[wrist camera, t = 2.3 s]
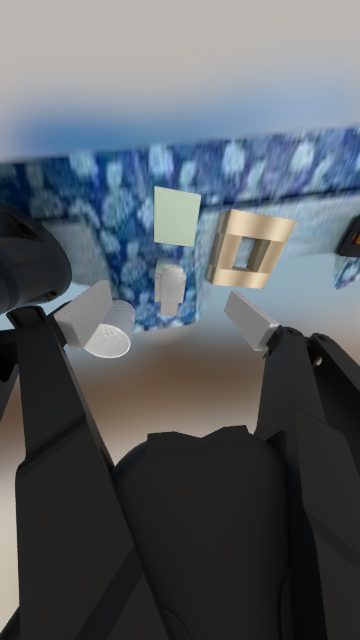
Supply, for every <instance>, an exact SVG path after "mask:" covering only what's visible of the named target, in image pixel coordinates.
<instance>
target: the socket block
mask: <svg viewBox="0 0 360 640" xmlns="http://www.w3.org/2000/svg"><path fill="white" fill-rule="evenodd" d="M296 222H297V221H293V220H288V219H282V218H277V217H271V216H266V215H260V214H255V213H249V212H244V211H239V210H233V209H231V210H228V211H225V212H221V216H220V221H219V225H218V230H217V234H216V238H215V243H214V247H213V251H212V256H211V260H210V265H209V269H208V273H207V279H208V281H209V282H210V283H211V284H212V285H224V286H236V287H248V288H260V289H264V287H265V285H266V283H267V281H268V279H269V277H270V275H271V273H272V271H273V269H274V267H275V265H276V263H277V261H278V259H279V257H280V255H281V253H282V251H283V249H284V247H285V244H286V242H287V240H288V238H289V236H290V234H291V232H292V230H293V228H294V226H295V224H296ZM242 237H246V238H253V239H257V240H256V243H255V245H254V248H253V251H252V253H251V256H250V259H249V261H248V264H247V266H246V268H243V267H234V266H233V264H234V261H235V258H236V255H237V252H238V249H239V246H240V242H241V239H242Z"/></svg>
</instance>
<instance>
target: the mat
mask: <svg viewBox="0 0 360 640" xmlns="http://www.w3.org/2000/svg"><path fill="white" fill-rule="evenodd" d="M200 200H201V195H198V194H193V193H187V192H182V191H177V190H172V189H167V188H162V187H156V186H155V206H154V242H157V243H165V244H173V245H180V246H188V247H193V246H194V239H195V233H196V226H197V219H198V213H199V206H200Z"/></svg>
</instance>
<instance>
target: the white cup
mask: <svg viewBox="0 0 360 640" xmlns="http://www.w3.org/2000/svg"><path fill="white" fill-rule="evenodd" d="M112 301H113V306H112V308H111V309H110V311H109V312H108V313H107V315H106V316H105V318H104V319H103V321H102V322H101V324H100V325H99V326H98V328H97V329H96V331H95V332H94V334H93V335H92V337H91V338H90V339H89V341H88V342H87V344H86V345H85V347H84V348H85V350H87V351H88V352H90V353H91V354H94V355H96V356H99V357H104V358H115V357H119V356H122V355H124V354H125V353H126V352H127V351H128V350H129V348H130V344H131V339H132V335H133V330H134V325H135V318H136V312H135V309H134V308H133V306H132V305H131V304H129V303H128V302H126V301H123V300H119V299H118V300H112Z"/></svg>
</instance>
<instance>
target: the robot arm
mask: <svg viewBox="0 0 360 640" xmlns="http://www.w3.org/2000/svg"><path fill="white" fill-rule="evenodd" d="M71 276H72V275H71V267H70V264H69V261H68V259H67V256H66V254H65V253H64V251H63V249H62V248H61V246H60V245H59V243H58V242H57V241H56V240H55V238H54V237H53V236H52V235H51V234H50V233H49V232H48V231H47V230H46V229H45V228H44V227H43V226H42V225H40V224H39V223H38V222H37V221H35V220H34V219H33V218H31V217H30V216H28V215H27V214H25V213H23V212H22V211H20V210H18V209H16V208H14V207H12V206H9V205H7V204H4V203H1V202H0V315H1V314H3V313H5V312H7V311H9V310H11V309H13V310H11V311H9V312H7V314H6V316H7V318H8V319H9V320H10V322H11V323H12V324H13V326H14V327H15V329H10V330H2V331H0V421H1V418H2V416H3V413H4V410H5V408H6V405H7V402H8V400H9V397H10V395H11V392H12V389H13V387H14V384H15V381H16V378H17V376H18V373H19V377H20V388H21V401H22V411H23V423H24V434H25V446H26V457H25V460H24V461H23V462H22V463H21V464H20V465H19V466H18V468H17V471H16V478H15V497H16V522H17V548H18V549H17V550H18V576H19V577H18V578H19V607H18V608H17V610H16V611H15V613H14V614H13V616H12V617H11V618H10V620H9V621H8V623H7V624H6V626H5V627H4V629H3V630H2V632H1V633H0V640H360V366H359V365H358V364H357V363H356V362H355V361H354V360H353V359H352V358H351V357H350V356H349V355H348V354H347V353H346V352H345V351H344V350H343V349H342V348H341V347H340V346H339V345H338V344H337V343H336V342H335V341H334V340H332V339H331V338H329V337H328V336H326V335H324V334H319V333H313V334H312V336H311V337H310V338H309V337H304V336H303V334H302V333H301V332H299V331H298V330H296V329H294V328H291V327H282V326H281V325H280V324H279V323H278V322H276V321H275V320H274V319H273V318H271V317H270V316H269V315H268V314H266V313H265V312H264V311H263V310H261V309H260V308H259V307H258V306H256V305H255V304H254V303H252V302H251V301H250V300H249V299H247V298H246V297H245V296H244V295H242V294H241V293H240V292H239V291H235V290H231V293H230V296H229V299H228V301H227V304H226V307H225V310H224V311H225V313H226V314H227V315H228V317H229V318H230V319H231V320H232V322H233V323H234V325H235V326H236V327H237V329H238V330H239V331H240V332H241V334H242V335H243V336H244V338H245V339H246V340H247V342H248V343H249V344H250V345H251V347H252V348H253V349H254V350H256V351H257V350H258V351H261V350H263V349H264V347H265V346H266V345H267V346H268V348H269V349H268V351H267V352H266V353H265V355H264V356H263V359H264V358H265V357H266V361H265V368H264V375H263V383H262V390H261V398H260V405H259V413H258V421H257V427H256V430H255V432H254V434H250V433H249V432H248V429H247V427H246V425H241V426H230V427H223V428H221V429H219V430H217V431H215V432H213V433H211V434H209V435H207V436H205V437H202V438H198V437H195V436H190V435H186V434H182V433H178V432H174V431H173V432H162V433H151V434H148V436H147V441H145V442H143V443H141V444H139V445H138V446H136V447H134V448H133V449H132V450H131V451H129V452H128V453H127V454H126V455H125V456H124V457H123V458H122V459H121V460H120V461H119V462H118V464H117V465H116V466H114V463H113V461H112V459H111V456H110V454H109V452H108V450H107V448H106V446H105V444H104V442H103V439H102V437H101V435H100V433H99V430H98V428H97V425H96V423H95V421H94V418H93V416H92V414H91V411H90V409H89V407H88V404H87V402H86V400H85V397H84V395H83V393H82V390H81V388H80V386H79V383H78V381H77V378H76V376H75V374H74V371H73V369H72V367H71V364H70V362H69V360H68V357H67V355H66V353H65V350H64V349H63V347H64V346H65V345H66V344H68V346H69V348H70V349H81V350H82V349H83V348H84V347H85V345H86V344H87V342H88V341H89V339H90V338H91V337H92V335H93V334H94V332H95V331H96V329H97V328H98V326H99V325H100V324H101V322H102V321H103V319H104V318H105V316H106V315H107V313H108V312H109V311H110V309H111V308H112V306H113V301H112V295H111V290H110V284H109V280H99V281H98V282H97V283H95V284H94V285H93V286H91V287H90V288H89V289H87V290H86V291H85V292H83V293H82V294H81V295H79V296H78V297H77V298H75V299H74V300H73V301H69V302H66V303H64V304H63V305H61V306H60V307H58V308H57V309H56V310H54V311H53V312H51V313H50V314H48V315H47V316H46V314H45V312H44V310H43V308H42V307H41V306H36V304H42V303H46V302H49V301H52V300H54V299H56V298H57V297H59V296H60V295H62V294H63V293H65V292H66V291H67V289H68V288H69V286H70V283H71ZM34 305H35V306H34ZM14 308H16V309H14ZM321 358H322V362H321V364H320V365H319V366H318V365H317V364H316V363H317V362H318V361H319V360H320V359H321Z"/></svg>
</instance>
